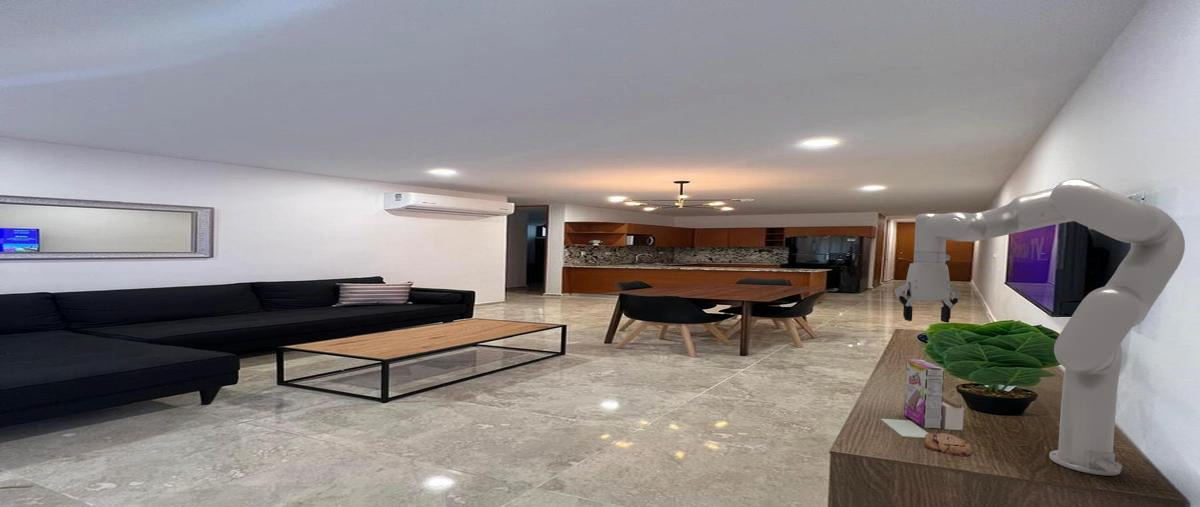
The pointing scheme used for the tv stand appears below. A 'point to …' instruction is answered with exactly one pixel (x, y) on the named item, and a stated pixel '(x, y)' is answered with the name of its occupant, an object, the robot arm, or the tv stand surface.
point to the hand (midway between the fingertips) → (926, 321)
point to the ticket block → (952, 414)
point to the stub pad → (905, 428)
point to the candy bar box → (924, 393)
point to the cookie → (947, 444)
